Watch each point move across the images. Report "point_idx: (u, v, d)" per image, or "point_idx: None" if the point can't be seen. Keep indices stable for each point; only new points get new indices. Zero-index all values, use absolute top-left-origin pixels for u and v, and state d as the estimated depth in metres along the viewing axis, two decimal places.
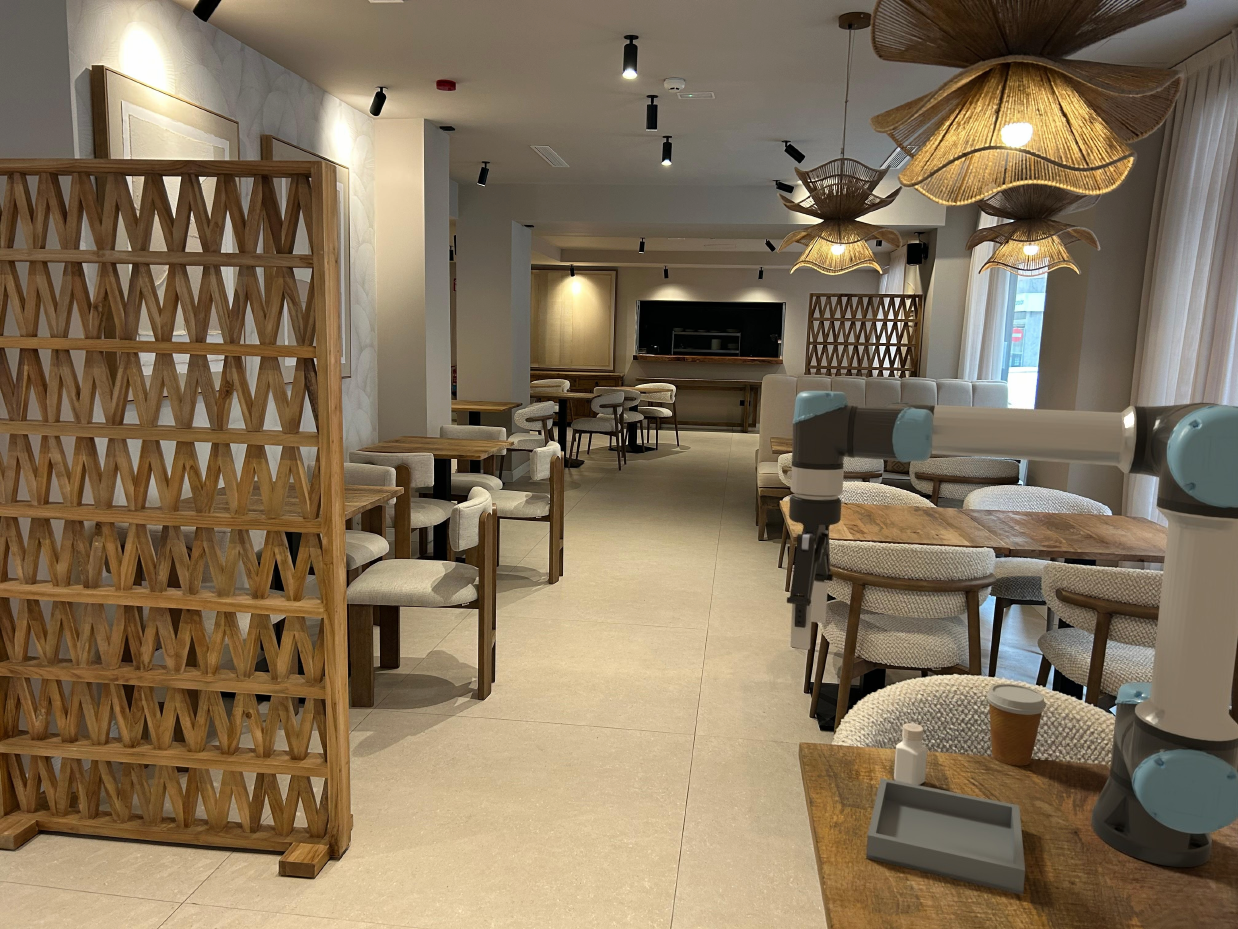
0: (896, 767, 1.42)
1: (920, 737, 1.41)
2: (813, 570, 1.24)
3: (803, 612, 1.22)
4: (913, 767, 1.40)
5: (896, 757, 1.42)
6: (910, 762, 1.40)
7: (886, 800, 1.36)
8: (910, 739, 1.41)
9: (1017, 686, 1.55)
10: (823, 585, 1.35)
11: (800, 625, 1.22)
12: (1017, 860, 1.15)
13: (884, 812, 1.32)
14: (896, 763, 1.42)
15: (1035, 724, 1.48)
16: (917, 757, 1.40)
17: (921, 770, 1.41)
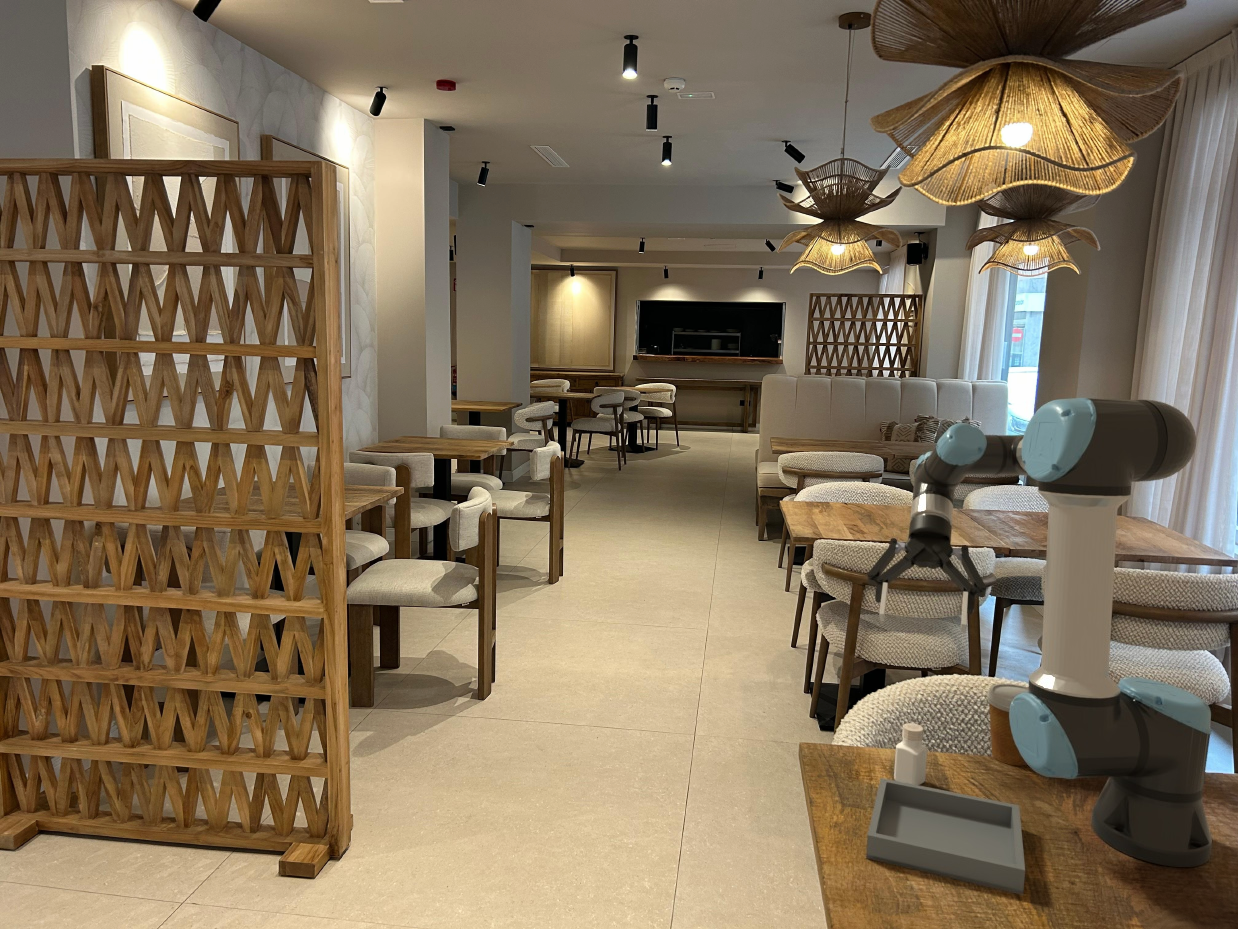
0: (896, 767, 1.42)
1: (920, 737, 1.41)
2: (897, 563, 1.59)
3: (876, 587, 1.57)
4: (913, 767, 1.40)
5: (896, 757, 1.42)
6: (910, 762, 1.40)
7: (886, 800, 1.36)
8: (910, 739, 1.41)
9: (1017, 686, 1.55)
10: (963, 595, 1.52)
11: (875, 598, 1.56)
12: (1017, 860, 1.15)
13: (884, 812, 1.32)
14: (896, 763, 1.42)
15: None
16: (917, 757, 1.40)
17: (921, 770, 1.41)
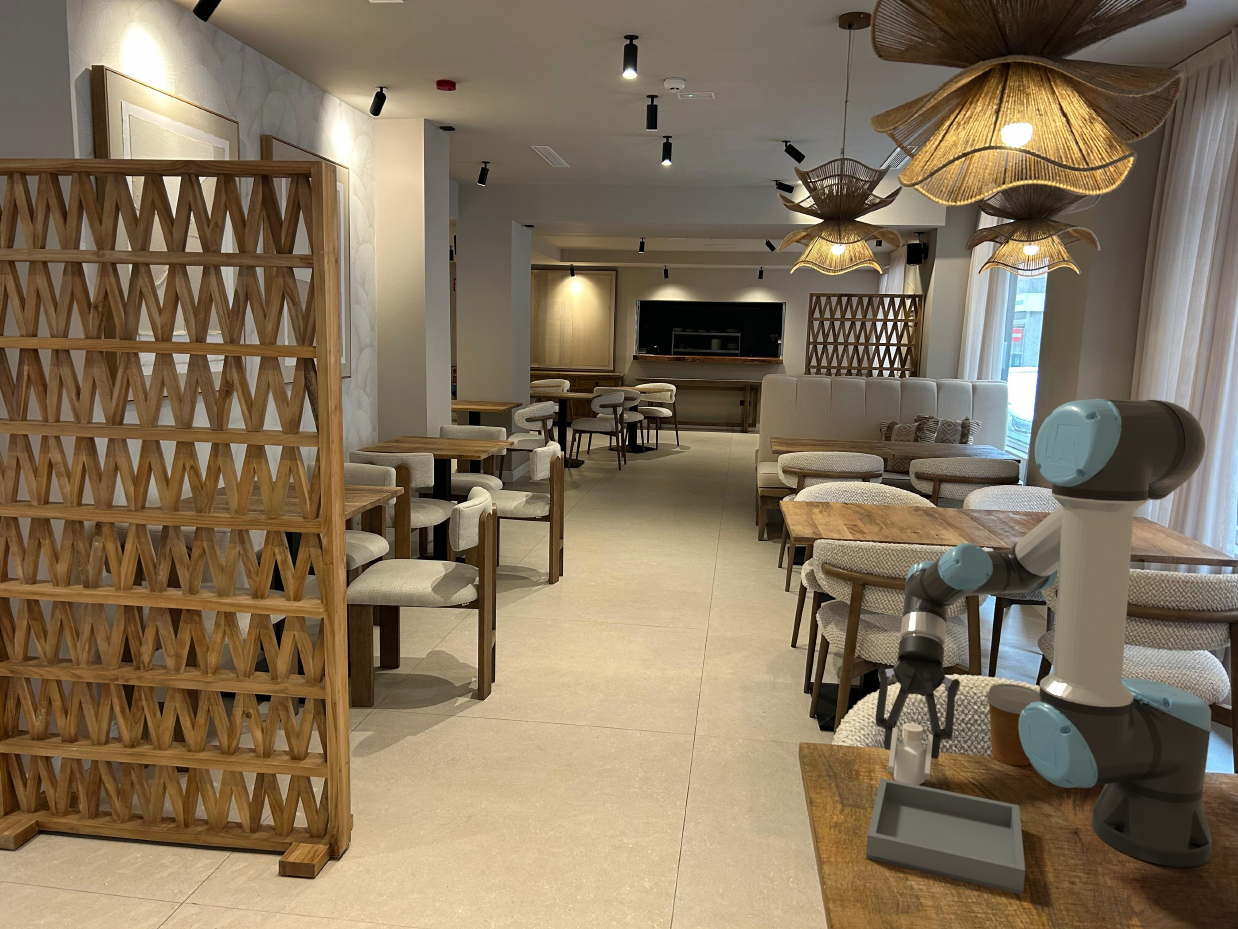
0: (896, 767, 1.42)
1: (920, 737, 1.41)
2: (896, 698, 1.46)
3: (885, 733, 1.44)
4: (913, 767, 1.40)
5: (896, 757, 1.42)
6: (910, 762, 1.40)
7: (886, 800, 1.36)
8: (910, 738, 1.41)
9: (1017, 686, 1.55)
10: None
11: (884, 745, 1.43)
12: (1017, 860, 1.15)
13: (884, 812, 1.32)
14: (896, 763, 1.42)
15: None
16: (917, 757, 1.40)
17: (921, 770, 1.41)
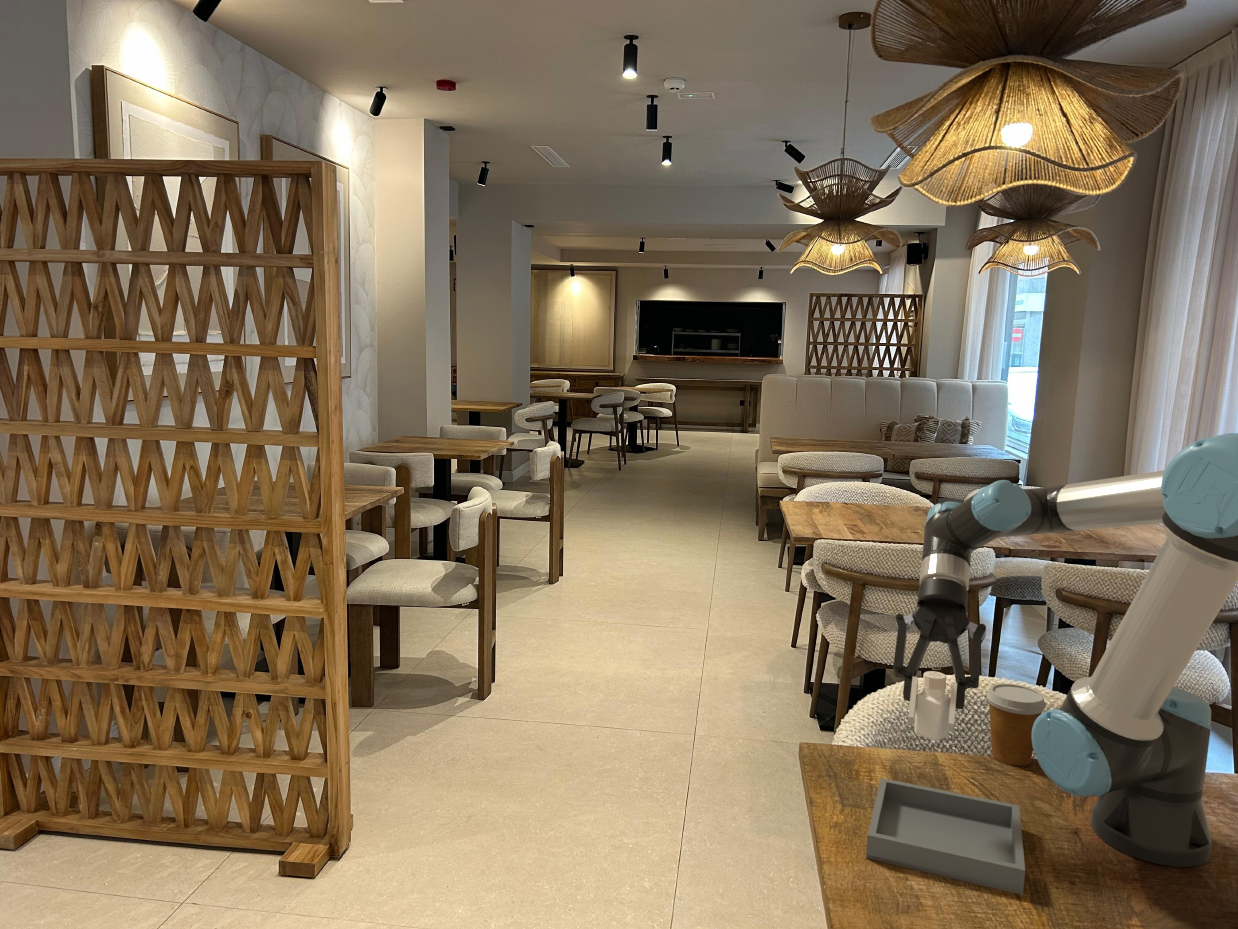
0: (917, 719, 1.30)
1: (943, 685, 1.28)
2: (916, 645, 1.33)
3: (904, 682, 1.31)
4: (935, 718, 1.27)
5: (917, 708, 1.29)
6: (932, 712, 1.28)
7: (886, 800, 1.36)
8: (932, 687, 1.28)
9: (1017, 686, 1.55)
10: (951, 686, 1.28)
11: (903, 695, 1.30)
12: (1017, 860, 1.15)
13: (884, 812, 1.32)
14: (916, 715, 1.30)
15: None
16: (940, 707, 1.27)
17: (944, 722, 1.28)
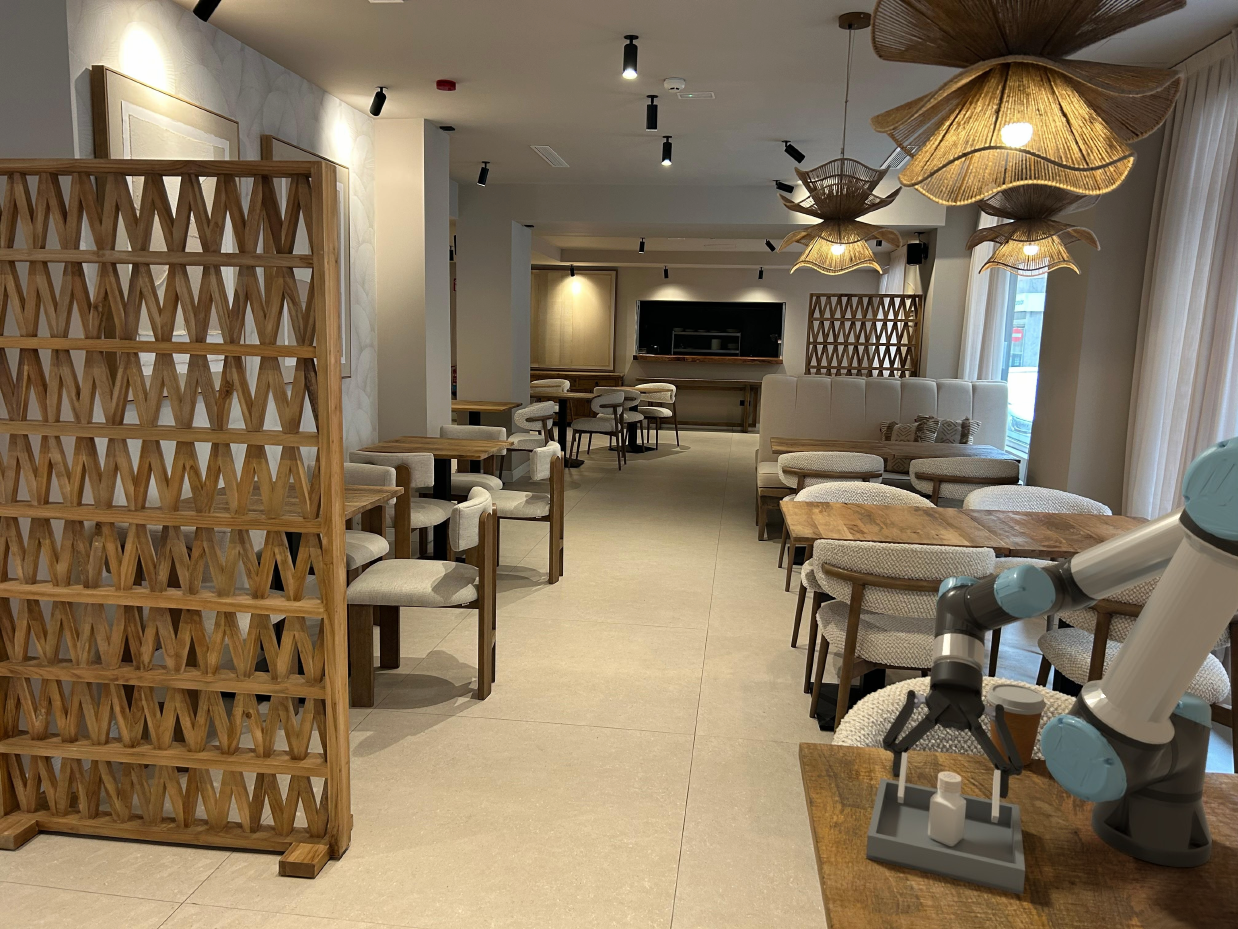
0: (931, 822, 1.24)
1: (958, 788, 1.23)
2: (917, 724, 1.29)
3: (893, 758, 1.28)
4: (950, 823, 1.22)
5: (931, 811, 1.24)
6: (947, 817, 1.23)
7: (886, 800, 1.36)
8: (947, 790, 1.23)
9: (1017, 686, 1.55)
10: (994, 773, 1.23)
11: (892, 772, 1.27)
12: (1017, 860, 1.15)
13: (884, 812, 1.32)
14: (930, 818, 1.24)
15: (1035, 724, 1.48)
16: (956, 812, 1.22)
17: (959, 826, 1.23)
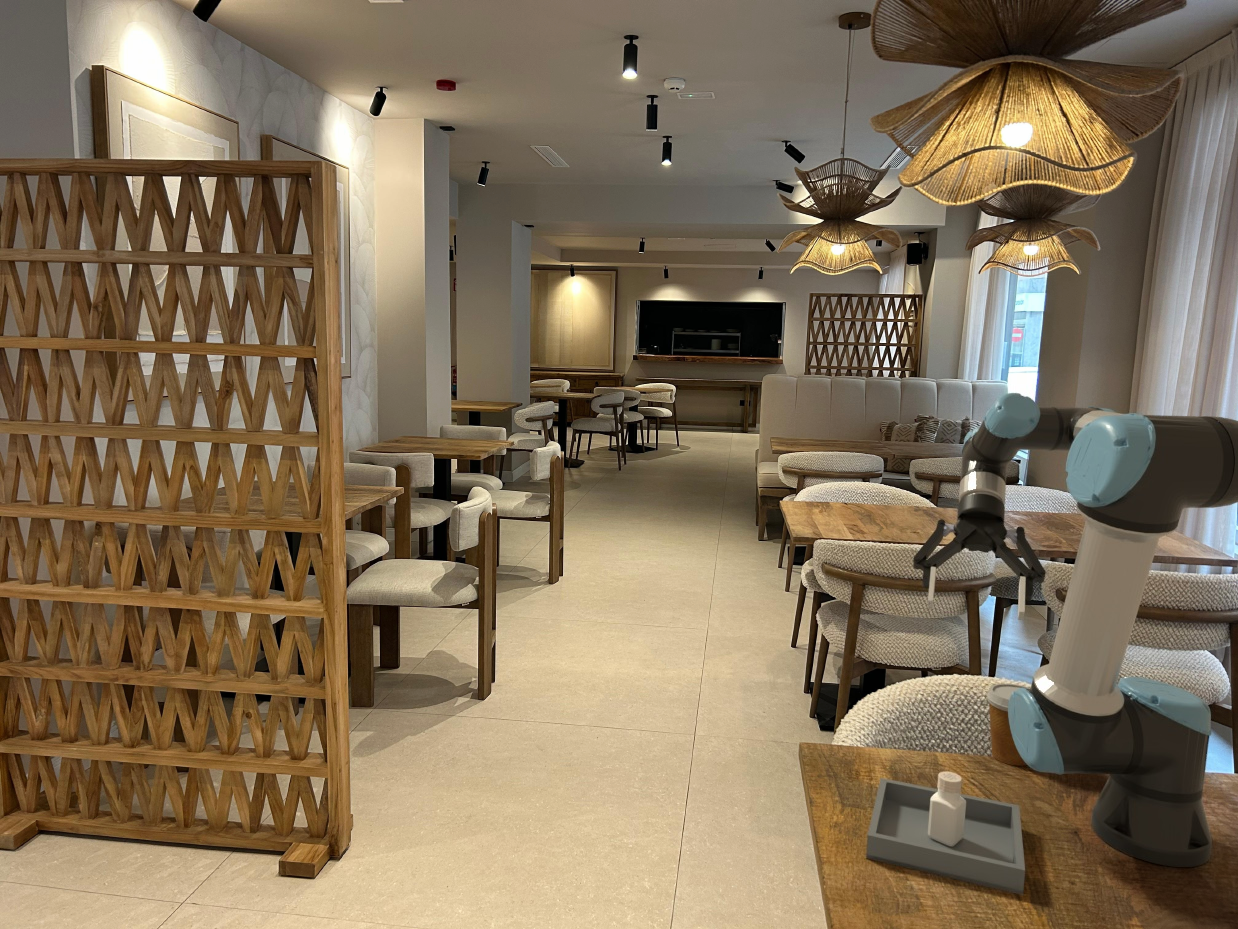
0: (931, 822, 1.24)
1: (959, 788, 1.23)
2: (946, 545, 1.46)
3: (923, 572, 1.45)
4: (950, 823, 1.22)
5: (931, 811, 1.24)
6: (947, 817, 1.23)
7: (886, 800, 1.36)
8: (948, 790, 1.23)
9: (1017, 686, 1.55)
10: (1020, 580, 1.39)
11: (922, 583, 1.44)
12: (1017, 860, 1.15)
13: (884, 812, 1.32)
14: (930, 818, 1.24)
15: None
16: (956, 812, 1.22)
17: (960, 826, 1.23)
